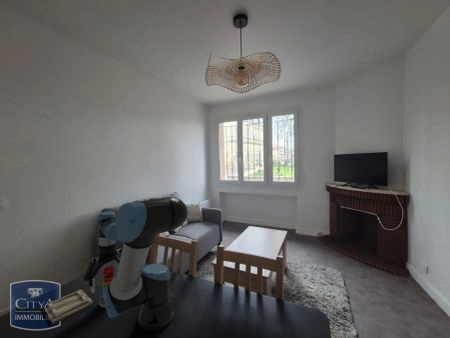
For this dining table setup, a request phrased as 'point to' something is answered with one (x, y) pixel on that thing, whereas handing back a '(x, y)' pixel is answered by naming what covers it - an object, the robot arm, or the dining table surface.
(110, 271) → the stacking toy
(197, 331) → the dining table surface
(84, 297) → the rectangular beige tray
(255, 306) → the dining table surface
